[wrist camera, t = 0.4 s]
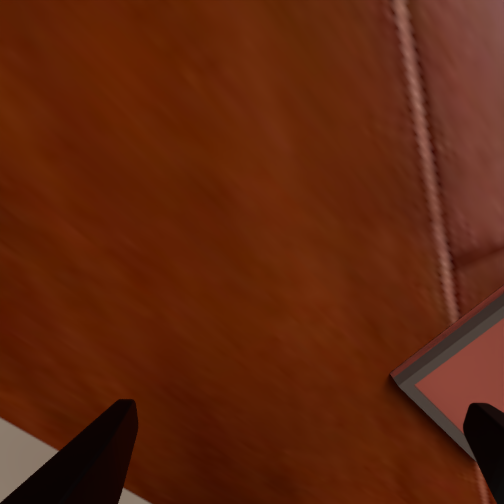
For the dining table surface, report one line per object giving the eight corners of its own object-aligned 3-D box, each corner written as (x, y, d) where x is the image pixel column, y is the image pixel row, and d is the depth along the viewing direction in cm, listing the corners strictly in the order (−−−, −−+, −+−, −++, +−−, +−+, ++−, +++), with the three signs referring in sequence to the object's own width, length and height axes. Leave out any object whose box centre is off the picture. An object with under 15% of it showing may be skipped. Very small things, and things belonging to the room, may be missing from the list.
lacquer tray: (473, 455, 28) (486, 471, 26) (389, 373, 25) (398, 386, 24) (596, 372, 26) (617, 385, 24) (516, 275, 23) (534, 282, 22)
